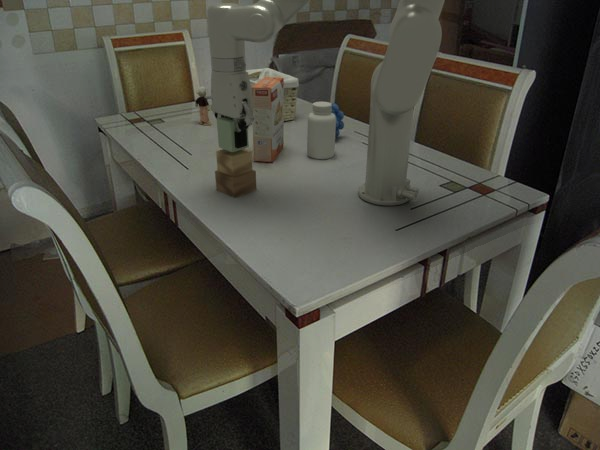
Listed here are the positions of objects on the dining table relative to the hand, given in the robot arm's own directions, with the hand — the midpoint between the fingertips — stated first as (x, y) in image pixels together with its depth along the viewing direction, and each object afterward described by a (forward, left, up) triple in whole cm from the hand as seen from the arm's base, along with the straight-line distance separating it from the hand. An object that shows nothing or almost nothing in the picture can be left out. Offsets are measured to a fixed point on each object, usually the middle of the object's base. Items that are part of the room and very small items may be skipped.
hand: (233, 143), depth 120 cm
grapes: (+9, -45, -12) cm, 47 cm away
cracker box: (+13, -23, -12) cm, 29 cm away
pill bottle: (+2, -33, -12) cm, 35 cm away
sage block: (0, 0, -1) cm, 1 cm away
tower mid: (0, 0, -7) cm, 7 cm away
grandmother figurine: (+52, -28, -12) cm, 60 cm away
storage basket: (+45, -49, -12) cm, 68 cm away
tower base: (0, 0, -12) cm, 12 cm away
